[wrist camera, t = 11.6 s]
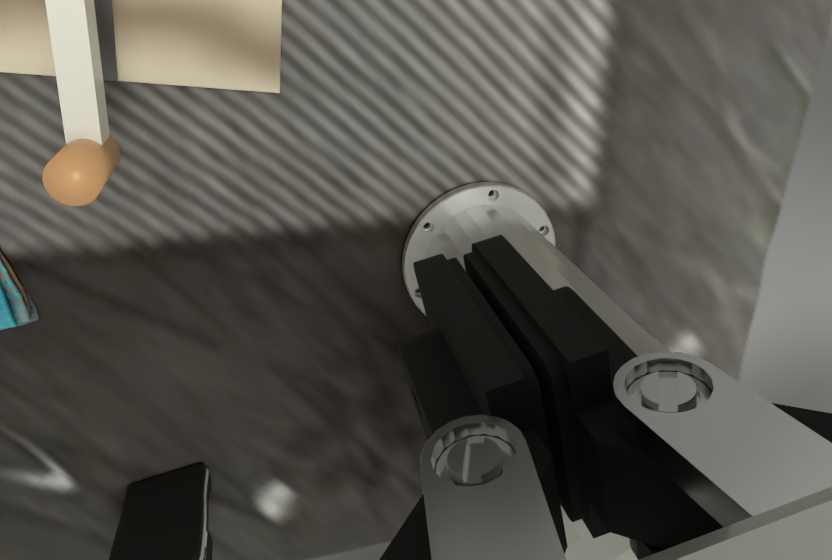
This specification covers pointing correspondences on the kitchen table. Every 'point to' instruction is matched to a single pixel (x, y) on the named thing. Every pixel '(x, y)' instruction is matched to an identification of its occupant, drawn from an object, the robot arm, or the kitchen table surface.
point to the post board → (160, 41)
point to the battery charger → (166, 518)
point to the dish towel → (14, 299)
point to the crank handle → (79, 106)
